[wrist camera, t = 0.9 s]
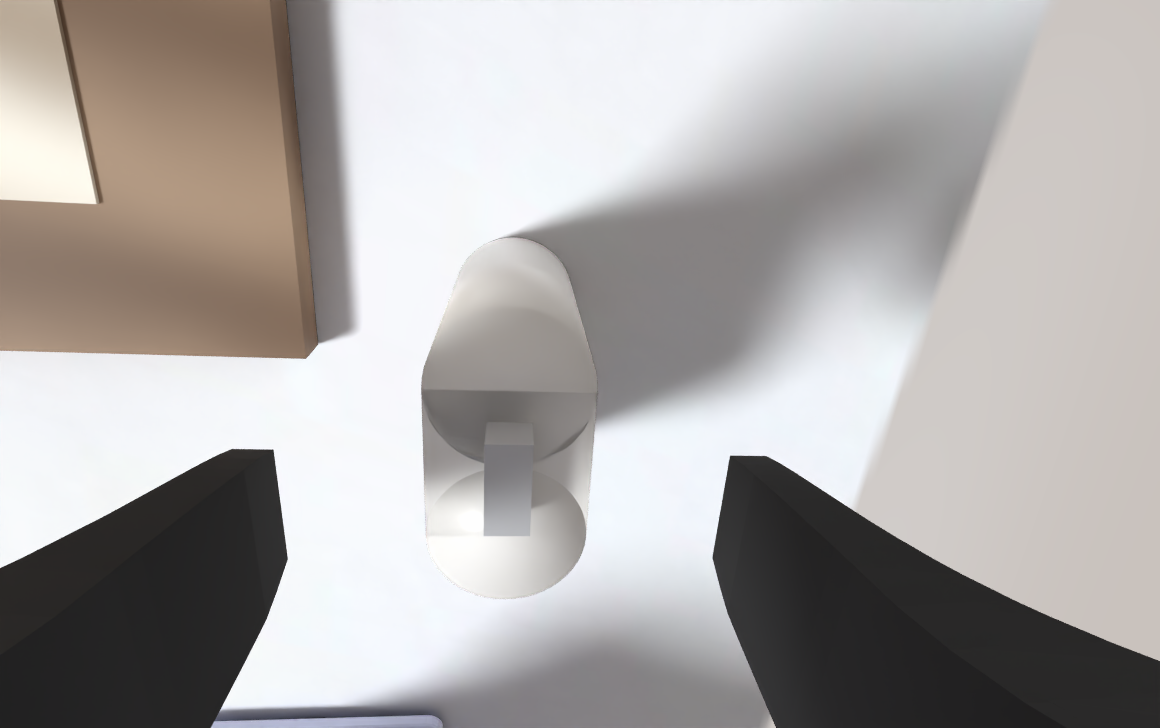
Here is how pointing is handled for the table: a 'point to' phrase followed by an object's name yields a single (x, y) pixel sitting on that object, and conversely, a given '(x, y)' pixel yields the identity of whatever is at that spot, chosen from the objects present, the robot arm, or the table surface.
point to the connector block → (508, 424)
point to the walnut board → (151, 180)
